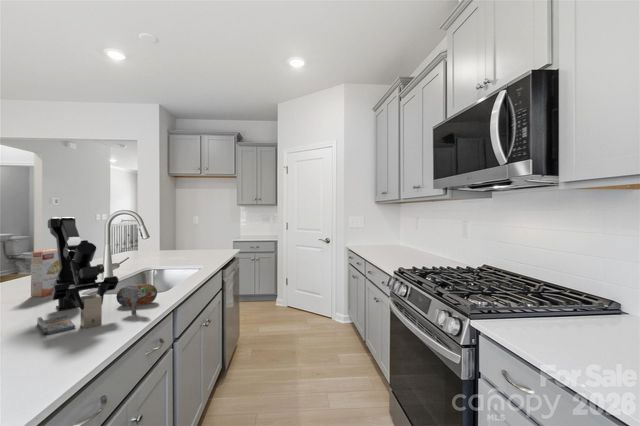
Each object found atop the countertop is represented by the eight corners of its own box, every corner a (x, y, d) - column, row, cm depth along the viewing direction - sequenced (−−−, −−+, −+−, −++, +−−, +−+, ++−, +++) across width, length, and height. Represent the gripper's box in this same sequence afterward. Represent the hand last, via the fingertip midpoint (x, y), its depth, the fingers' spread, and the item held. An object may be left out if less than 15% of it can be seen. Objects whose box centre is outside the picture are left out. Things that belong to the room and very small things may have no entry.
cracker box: (43, 297, 141) (42, 251, 141) (30, 297, 141) (29, 251, 141) (68, 289, 155) (68, 248, 155) (56, 289, 155) (56, 247, 155)
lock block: (80, 324, 108) (80, 296, 108) (97, 321, 112) (97, 293, 112) (84, 328, 105) (84, 299, 105) (101, 324, 109) (101, 296, 109)
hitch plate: (37, 324, 108) (37, 317, 108) (66, 318, 114) (66, 312, 114) (43, 335, 99) (43, 328, 99) (75, 328, 105) (75, 321, 105)
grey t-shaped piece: (142, 314, 119) (142, 289, 119) (119, 312, 121) (119, 287, 121) (147, 312, 122) (147, 287, 122) (125, 310, 124) (125, 285, 124)
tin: (116, 307, 128) (116, 287, 128) (118, 305, 131) (118, 285, 131) (156, 303, 134) (156, 284, 134) (157, 301, 137) (157, 282, 137)
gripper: (53, 260, 103) (62, 299, 97) (116, 254, 118) (128, 288, 111) (48, 280, 108) (56, 319, 102) (109, 272, 123) (120, 305, 116)
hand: (92, 306), depth 108 cm, fingers closed on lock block, 5 cm apart
